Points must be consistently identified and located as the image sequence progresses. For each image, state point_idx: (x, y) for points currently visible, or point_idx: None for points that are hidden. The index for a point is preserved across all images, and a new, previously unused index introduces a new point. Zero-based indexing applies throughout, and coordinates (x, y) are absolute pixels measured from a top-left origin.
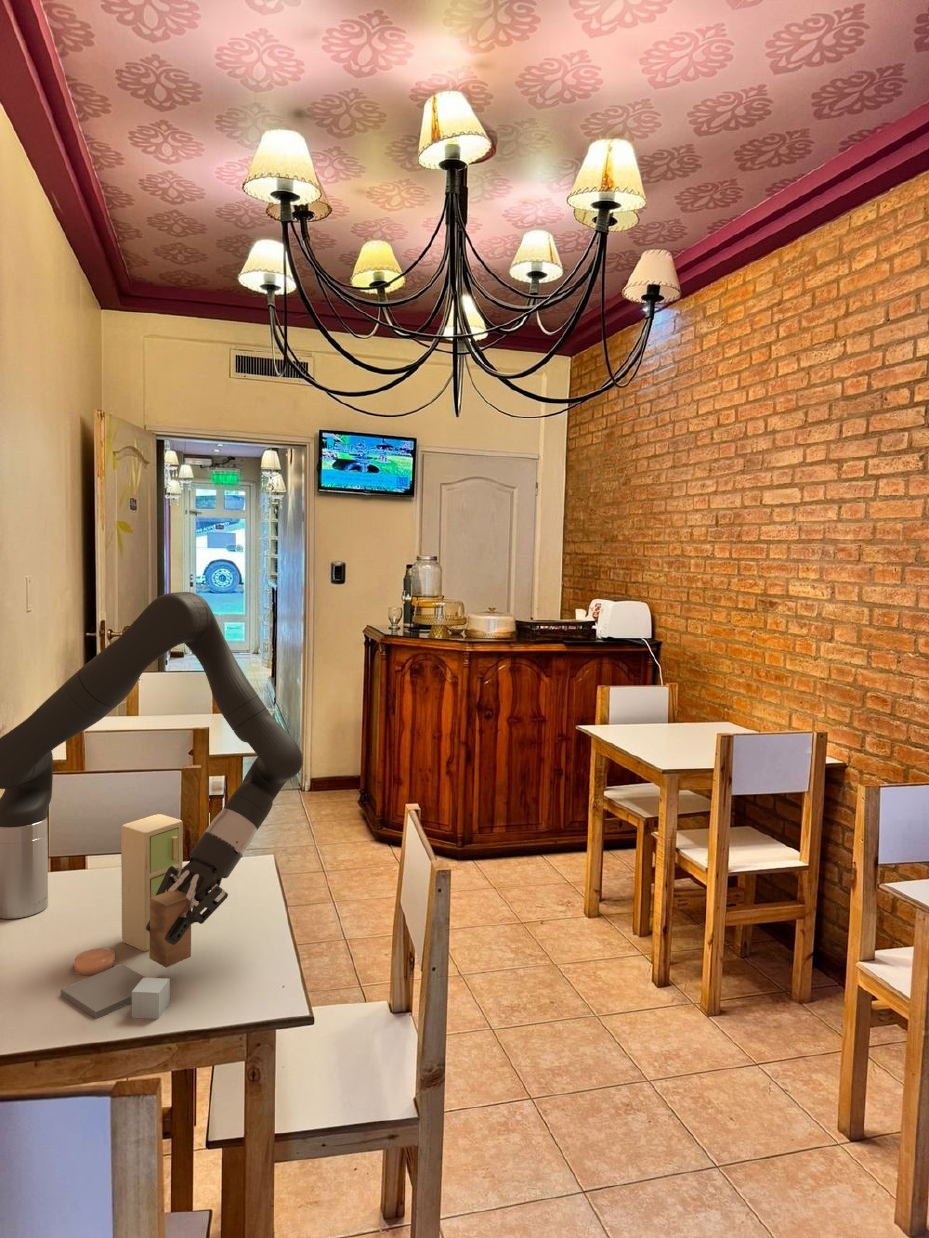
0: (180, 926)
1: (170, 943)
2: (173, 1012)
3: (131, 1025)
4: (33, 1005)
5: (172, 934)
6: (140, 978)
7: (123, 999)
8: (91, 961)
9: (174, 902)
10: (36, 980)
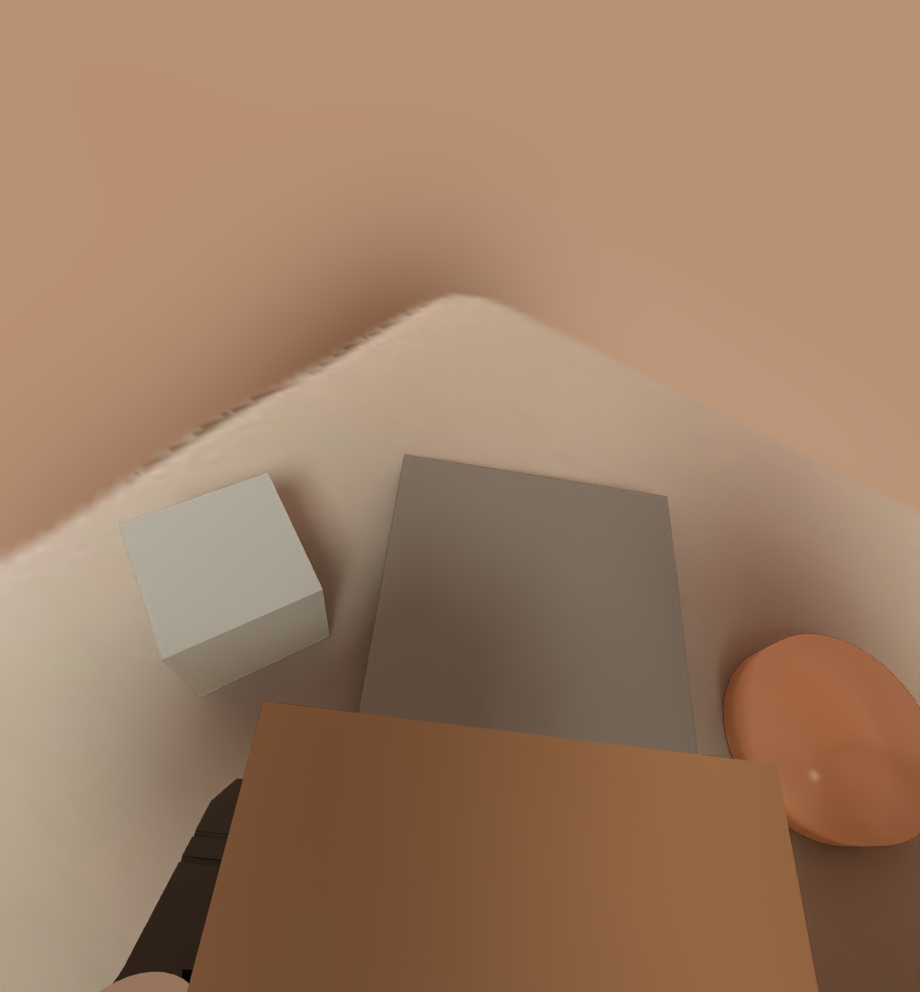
0: (165, 895)
1: None
2: (125, 650)
3: None
4: (657, 434)
5: None
6: None
7: (386, 560)
8: (805, 690)
9: (224, 919)
10: (827, 534)
